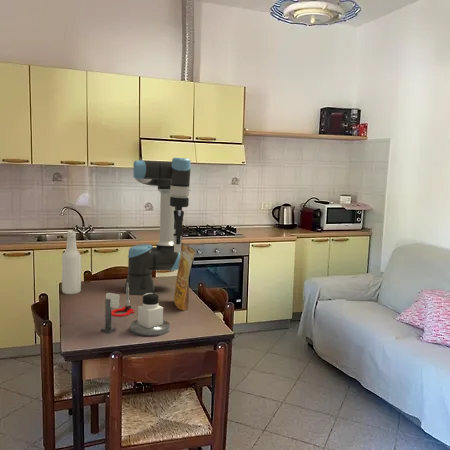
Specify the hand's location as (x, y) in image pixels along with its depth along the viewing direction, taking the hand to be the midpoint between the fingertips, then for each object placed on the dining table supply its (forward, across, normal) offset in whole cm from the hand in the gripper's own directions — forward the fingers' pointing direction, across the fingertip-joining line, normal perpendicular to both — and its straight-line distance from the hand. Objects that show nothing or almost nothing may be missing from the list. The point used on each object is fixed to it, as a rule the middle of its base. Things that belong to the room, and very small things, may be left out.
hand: (176, 248), depth 191 cm
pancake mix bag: (+31, +19, -5) cm, 36 cm away
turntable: (+30, -12, +9) cm, 34 cm away
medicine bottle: (+28, -12, +9) cm, 32 cm away
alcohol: (+32, +41, +48) cm, 71 cm away
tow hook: (+31, +8, +22) cm, 39 cm away
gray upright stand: (+30, -13, +25) cm, 41 cm away
